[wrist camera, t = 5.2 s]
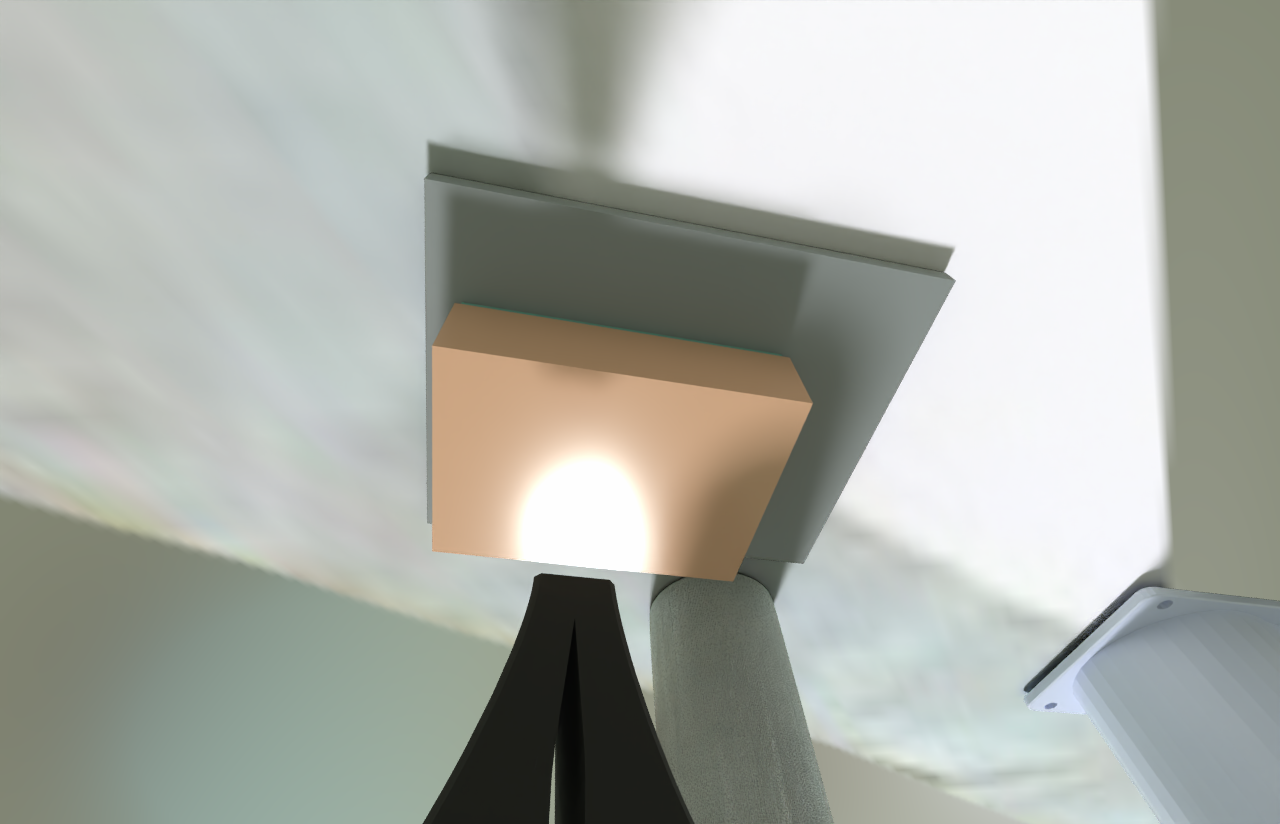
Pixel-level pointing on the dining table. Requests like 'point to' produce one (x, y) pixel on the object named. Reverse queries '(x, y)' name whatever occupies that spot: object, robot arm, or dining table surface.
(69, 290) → the dining table surface
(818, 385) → the mat
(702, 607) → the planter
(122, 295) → the dining table surface
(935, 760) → the dining table surface
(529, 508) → the tile
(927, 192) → the dining table surface
